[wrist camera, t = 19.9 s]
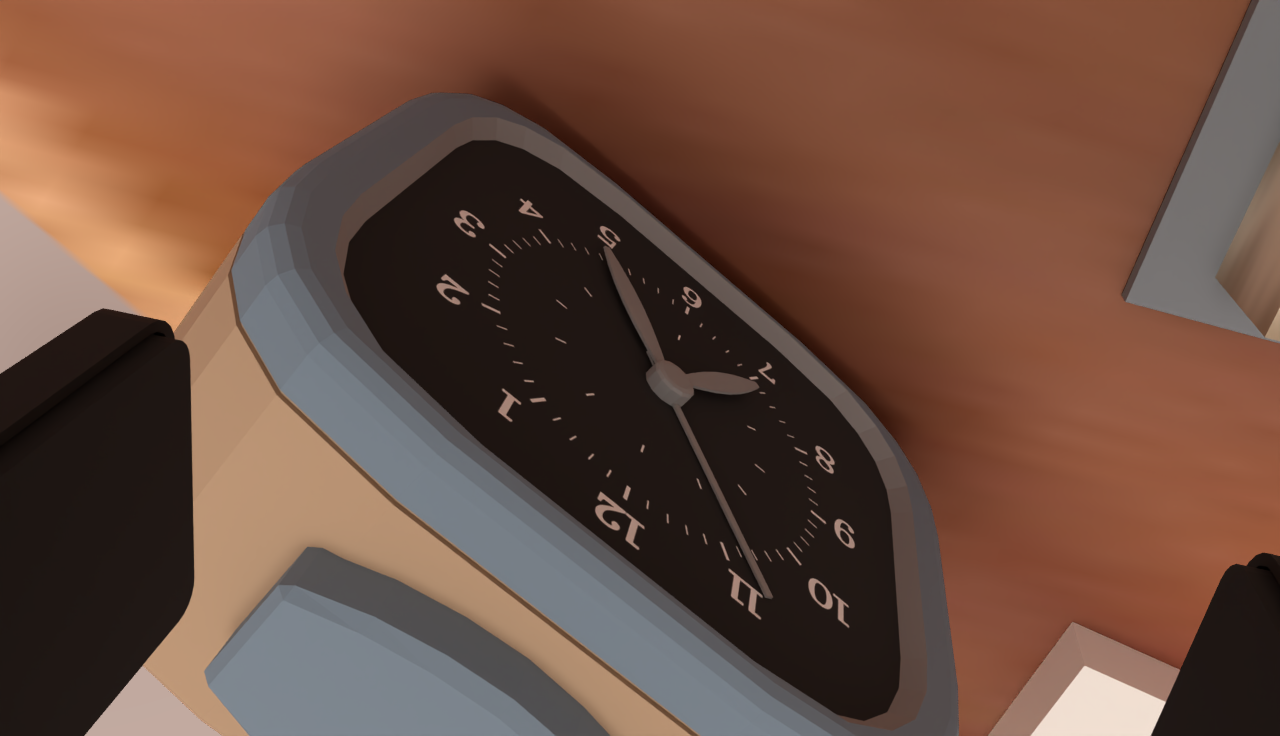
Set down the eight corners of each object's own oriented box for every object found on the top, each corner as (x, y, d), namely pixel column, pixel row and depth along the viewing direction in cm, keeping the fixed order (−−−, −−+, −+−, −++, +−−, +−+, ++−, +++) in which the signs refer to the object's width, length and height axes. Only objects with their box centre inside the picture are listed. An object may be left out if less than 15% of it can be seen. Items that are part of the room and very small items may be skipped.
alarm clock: (932, 433, 42) (1006, 941, 23) (754, 589, 46) (688, 1136, 27) (484, 47, 39) (129, 256, 20) (333, 249, 43) (-87, 589, 24)
